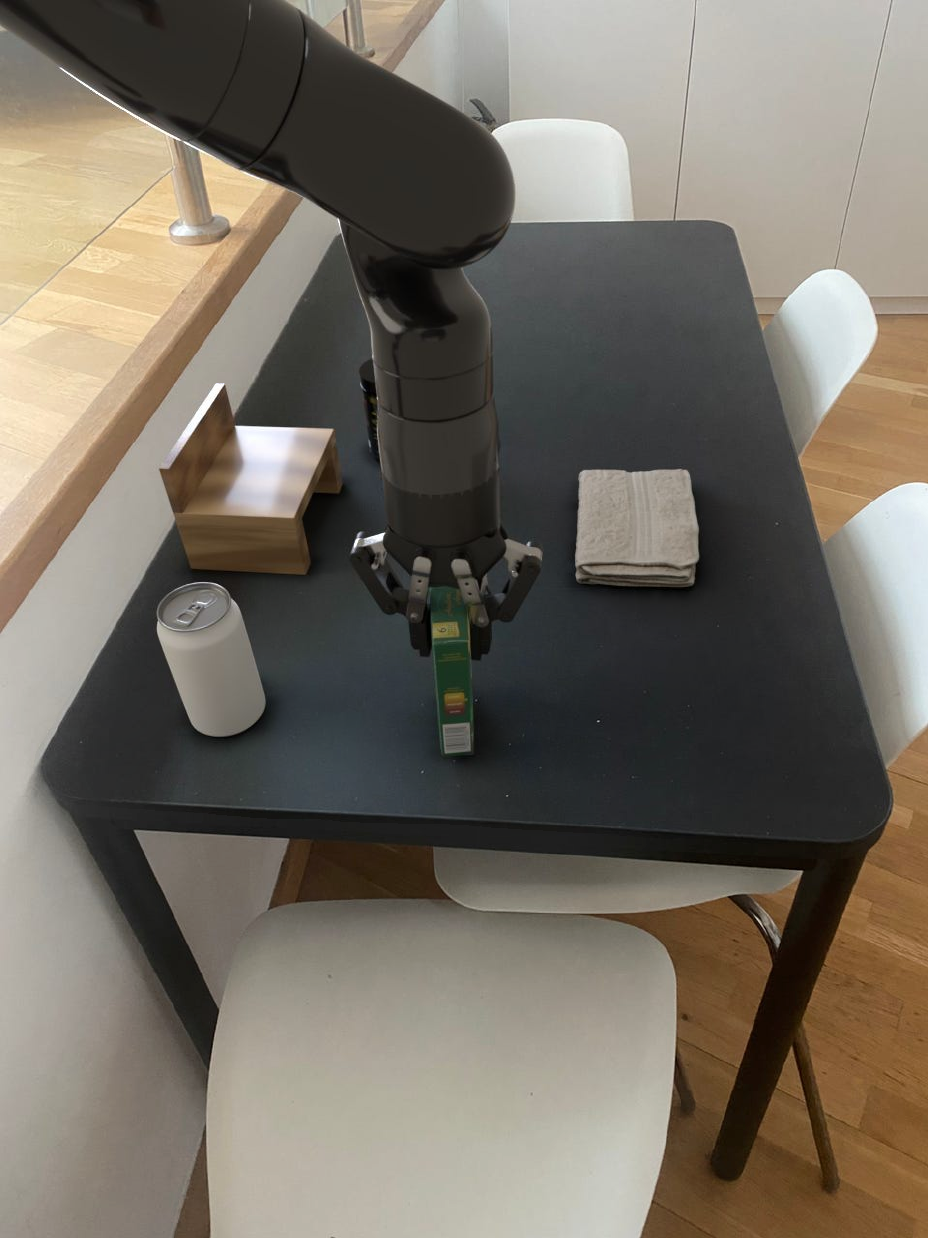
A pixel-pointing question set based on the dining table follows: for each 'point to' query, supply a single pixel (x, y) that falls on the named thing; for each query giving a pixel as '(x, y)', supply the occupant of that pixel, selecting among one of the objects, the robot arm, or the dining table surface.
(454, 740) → the coffee box
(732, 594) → the dining table surface
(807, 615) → the dining table surface
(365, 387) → the supplement container
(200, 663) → the can
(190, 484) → the shelf
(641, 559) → the washcloth
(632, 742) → the dining table surface
